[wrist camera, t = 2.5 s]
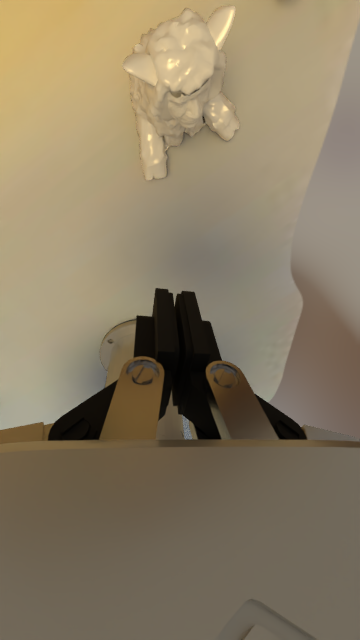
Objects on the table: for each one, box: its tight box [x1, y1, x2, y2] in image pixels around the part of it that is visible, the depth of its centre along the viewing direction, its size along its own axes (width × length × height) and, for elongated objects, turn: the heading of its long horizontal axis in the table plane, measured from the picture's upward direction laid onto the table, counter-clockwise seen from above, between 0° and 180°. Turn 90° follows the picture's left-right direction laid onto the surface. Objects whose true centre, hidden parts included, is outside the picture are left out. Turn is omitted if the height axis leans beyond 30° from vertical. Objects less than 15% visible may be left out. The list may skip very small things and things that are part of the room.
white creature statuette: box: [122, 5, 240, 180], centre depth 17 cm, size 10×9×12 cm
